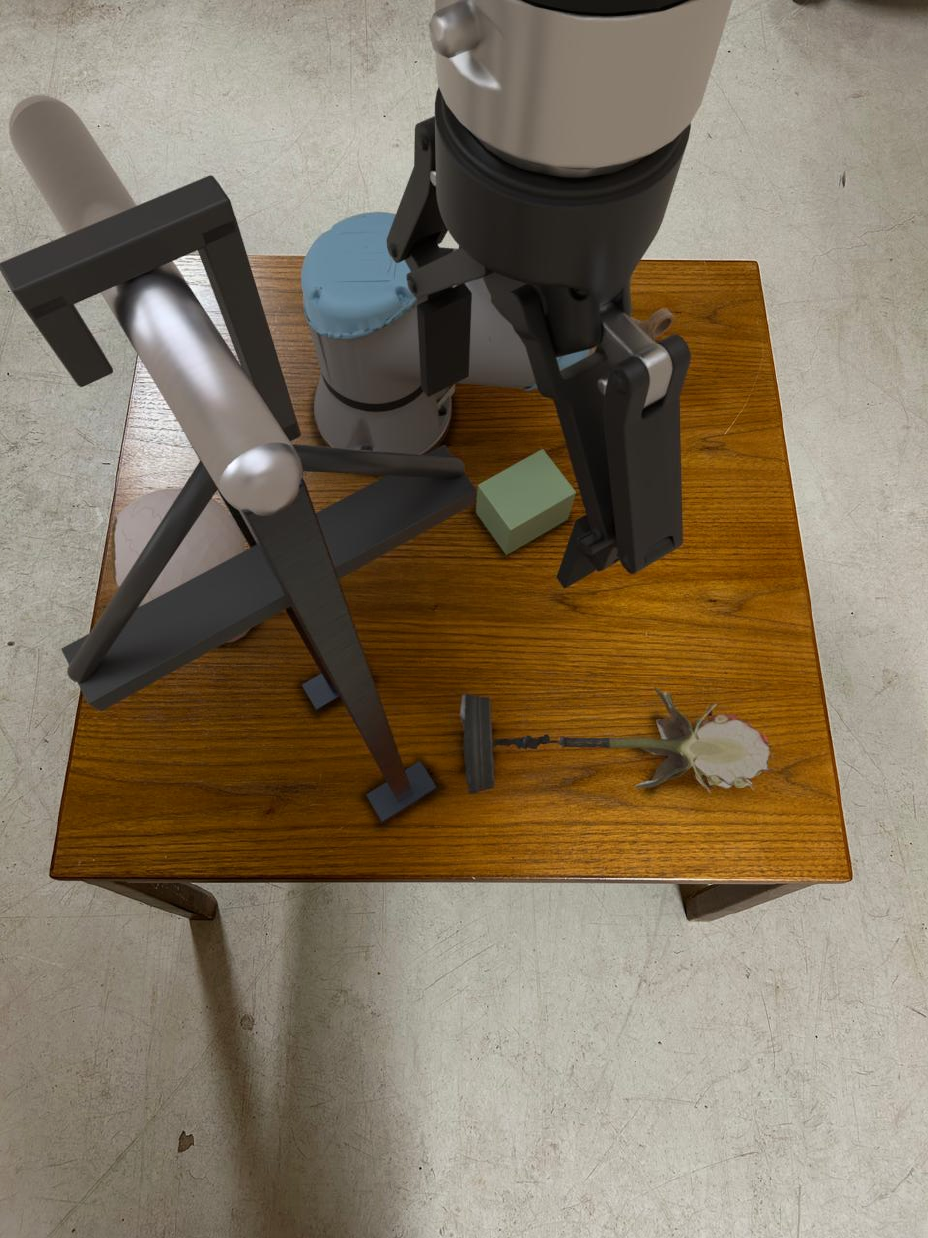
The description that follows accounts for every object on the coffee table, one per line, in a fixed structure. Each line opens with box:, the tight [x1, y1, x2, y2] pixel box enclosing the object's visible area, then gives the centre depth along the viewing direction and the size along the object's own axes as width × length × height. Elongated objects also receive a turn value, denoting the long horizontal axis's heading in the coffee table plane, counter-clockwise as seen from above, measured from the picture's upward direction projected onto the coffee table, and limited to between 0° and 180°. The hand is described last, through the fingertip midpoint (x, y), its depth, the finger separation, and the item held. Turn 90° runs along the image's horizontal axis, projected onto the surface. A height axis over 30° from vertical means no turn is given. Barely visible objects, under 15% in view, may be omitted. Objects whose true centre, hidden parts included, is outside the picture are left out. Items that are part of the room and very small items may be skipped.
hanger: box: [0, 174, 478, 712], centre depth 28 cm, size 20×3×20 cm, turn 123°
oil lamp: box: [588, 307, 675, 356], centre depth 89 cm, size 13×8×5 cm, turn 118°
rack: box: [8, 94, 438, 824], centre depth 47 cm, size 16×6×60 cm, turn 33°
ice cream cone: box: [110, 488, 251, 644], centre depth 70 cm, size 11×11×20 cm
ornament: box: [459, 685, 775, 795], centre depth 71 cm, size 28×10×9 cm, turn 91°
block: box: [475, 448, 577, 556], centre depth 81 cm, size 6×8×6 cm
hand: (510, 472), depth 42 cm, fingers open, 13 cm apart
